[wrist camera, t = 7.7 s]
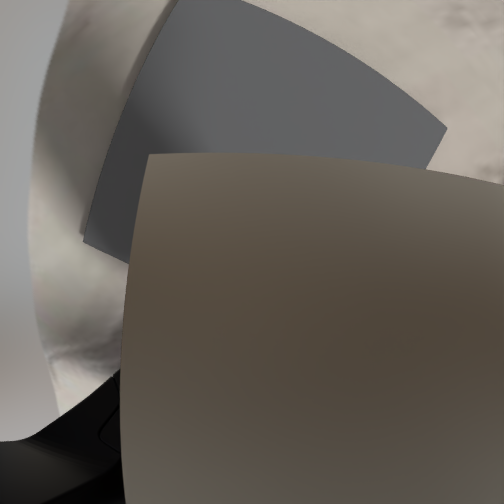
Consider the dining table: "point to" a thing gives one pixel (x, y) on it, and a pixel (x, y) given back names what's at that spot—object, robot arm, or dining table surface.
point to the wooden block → (312, 334)
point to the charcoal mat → (249, 106)
